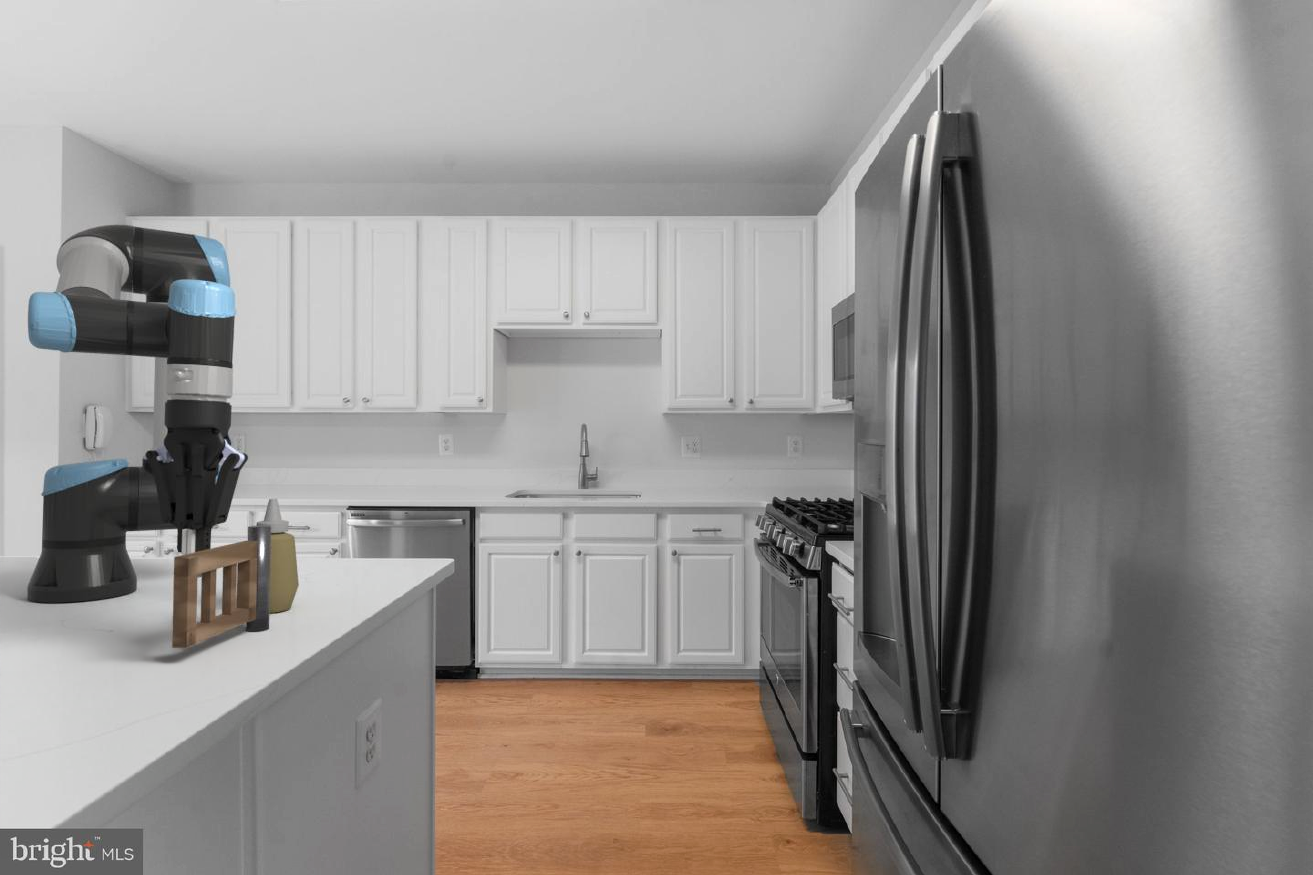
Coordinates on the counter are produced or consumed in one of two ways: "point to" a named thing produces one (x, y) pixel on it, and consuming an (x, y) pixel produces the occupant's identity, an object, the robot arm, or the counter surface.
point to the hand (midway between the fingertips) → (192, 577)
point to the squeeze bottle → (281, 560)
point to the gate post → (261, 577)
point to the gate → (213, 591)
